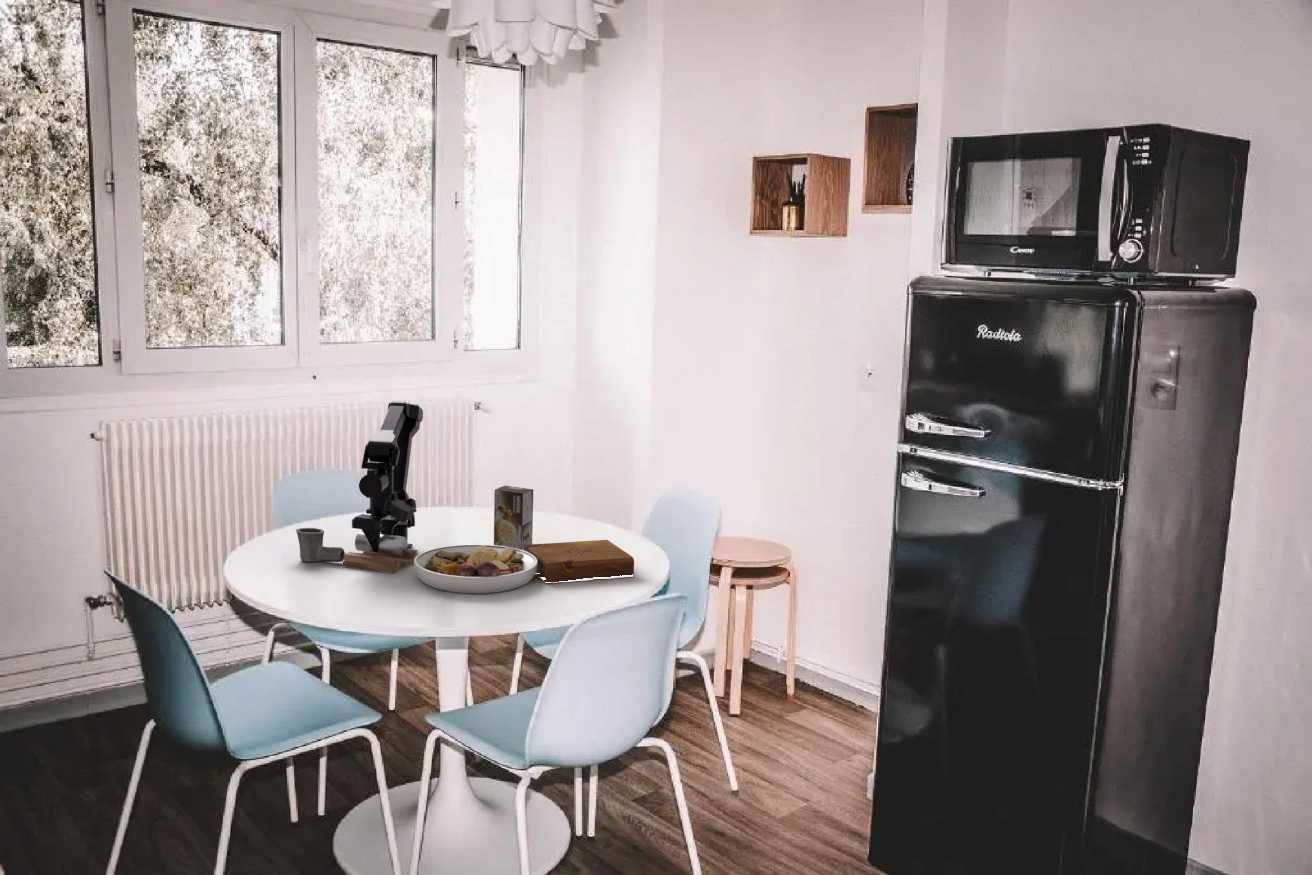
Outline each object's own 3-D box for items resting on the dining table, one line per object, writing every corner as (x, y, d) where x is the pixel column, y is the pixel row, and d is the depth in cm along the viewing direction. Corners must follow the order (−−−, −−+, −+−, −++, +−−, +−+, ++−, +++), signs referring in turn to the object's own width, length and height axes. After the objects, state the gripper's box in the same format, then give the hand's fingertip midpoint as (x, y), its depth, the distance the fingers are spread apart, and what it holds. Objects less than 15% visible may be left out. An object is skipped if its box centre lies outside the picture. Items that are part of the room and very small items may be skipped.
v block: (369, 554, 307) (369, 542, 307) (418, 560, 303) (418, 549, 303) (342, 566, 295) (342, 554, 294) (392, 573, 291) (392, 561, 290)
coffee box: (533, 546, 322) (535, 489, 319) (522, 551, 316) (523, 493, 314) (503, 542, 325) (505, 484, 323) (492, 547, 320) (493, 489, 317)
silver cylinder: (365, 548, 303) (365, 529, 302) (407, 553, 299) (407, 534, 298) (354, 552, 298) (354, 533, 297) (397, 558, 295) (397, 539, 294)
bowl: (402, 567, 298) (402, 536, 297) (516, 559, 310) (517, 530, 309) (429, 602, 271) (429, 569, 270) (553, 592, 283) (554, 560, 282)
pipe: (337, 567, 294) (337, 536, 293) (290, 562, 297) (290, 531, 295) (348, 561, 300) (348, 530, 299) (302, 556, 303) (302, 525, 301)
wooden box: (546, 587, 288) (547, 564, 287) (523, 566, 305) (523, 544, 304) (633, 579, 297) (634, 557, 296) (606, 559, 314) (607, 538, 313)
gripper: (391, 499, 285) (390, 562, 287) (428, 485, 302) (427, 544, 305) (350, 494, 288) (350, 556, 290) (389, 480, 305) (388, 539, 308)
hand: (381, 549), depth 298 cm, fingers closed on silver cylinder, 5 cm apart
